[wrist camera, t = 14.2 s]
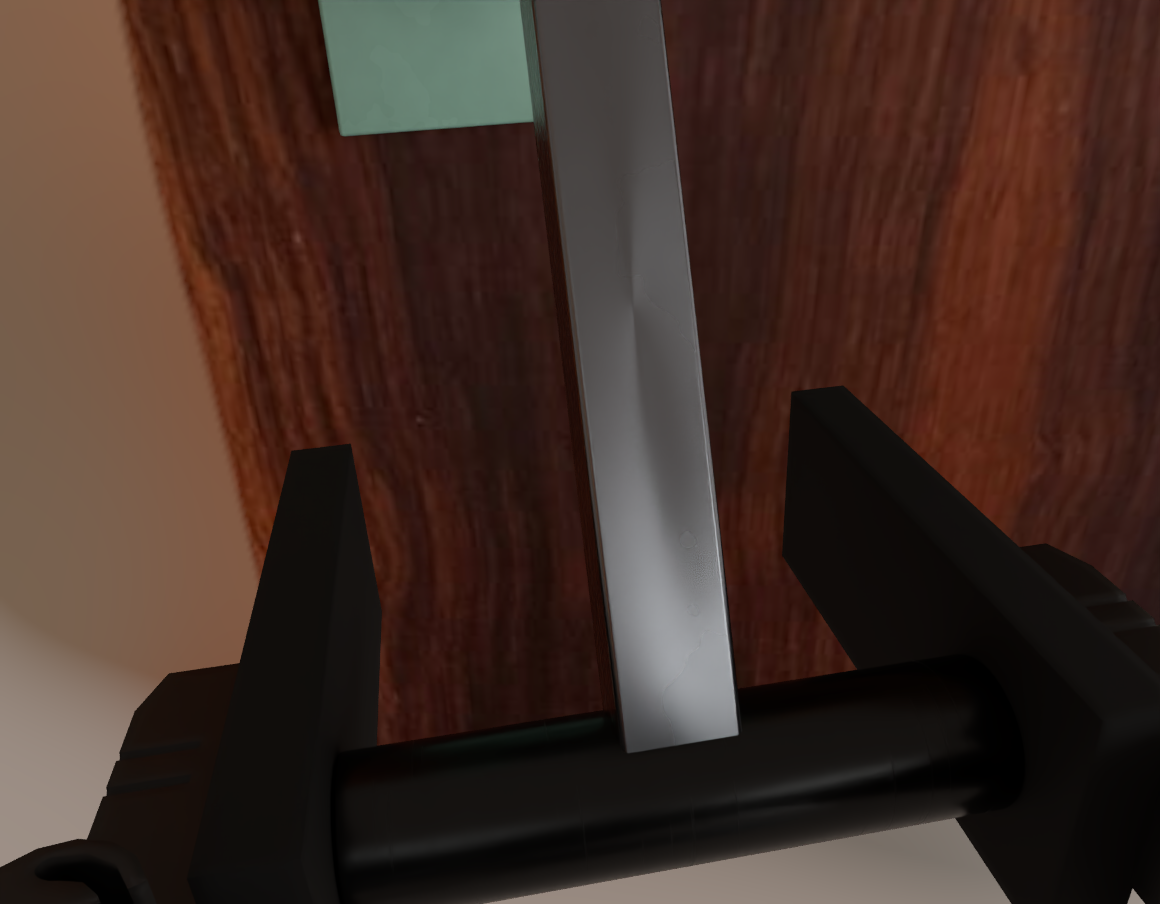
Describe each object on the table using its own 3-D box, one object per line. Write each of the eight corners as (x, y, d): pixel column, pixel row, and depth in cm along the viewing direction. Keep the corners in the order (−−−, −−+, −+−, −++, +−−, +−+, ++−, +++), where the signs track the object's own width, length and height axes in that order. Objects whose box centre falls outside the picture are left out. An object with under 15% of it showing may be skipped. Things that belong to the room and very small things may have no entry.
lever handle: (926, 758, 10) (1069, 860, 8) (368, 854, 9) (336, 1000, 7) (808, -388, 10) (923, -657, 7) (208, -382, 9) (115, -680, 6)
